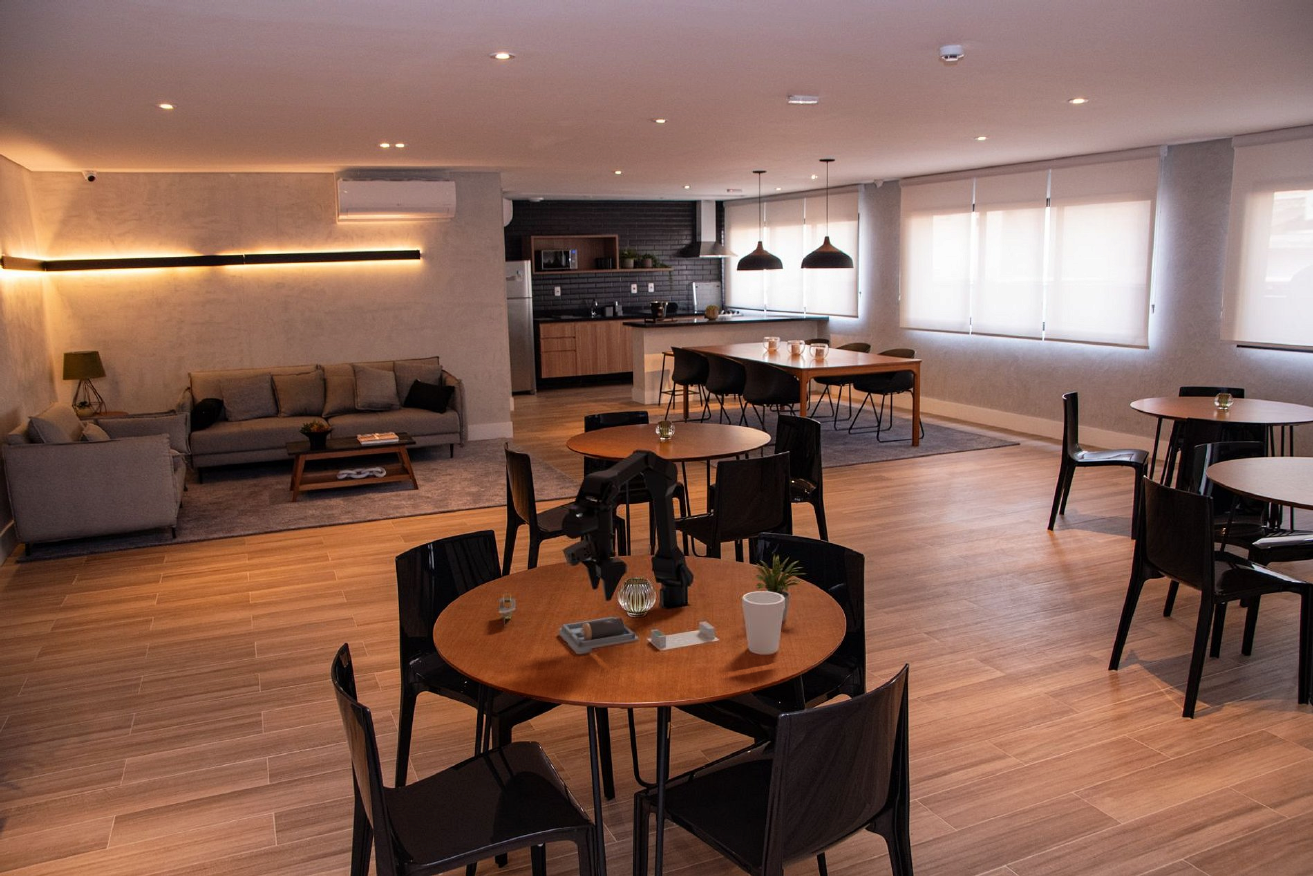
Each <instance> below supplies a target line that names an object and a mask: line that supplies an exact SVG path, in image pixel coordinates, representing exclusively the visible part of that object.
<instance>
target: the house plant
mask: <svg viewBox="0 0 1313 876" xmlns="http://www.w3.org/2000/svg"><path fill="white" fill-rule="evenodd" d="M789 558H790V556H788V557H787V558H786V559H785V560H784V561H783V562H782V563H781V562H780V555H777V556H776V554H775V553H774V554H773V557H772V570H771V569H770V567H769V565H768V564H767V563H766V562H764V561H763V560H761V559H759V562H761V564H762V566H761V565H760V564H759V563H756V565H758V566H756V565H754V568H756V569H757V570H758V571H759V573H760V574H755V575H754V577H755V578H757V579H759V580H761V581H762V582H763V583H764V584H763V583H762V582H758V583H757V584H756V586H755V587H756V590H758V589H762V588H766V591H769V592H775V593H778V594H781V595H783V596H784V598H785V609H784V611H783V618H782V622H783V621H785V620H786V619H787V615H788V614H787V613H788V609H789V608H788V606H789V602H790V598H791V597H790V596H791V594H790V593H789V592H788V590H789V587H790V586H800V584H801V583H802V580H801V579H793V577H796V576H798V575H799V576H800V575H807V573H806V572H805V573H803V572H799V570H795V569H802V568H804V566H803V567H801V566H798V567H793V566H794V565H795V564H797V563H798V562H799V560H797V561H793V562H792V563H791V564H789V566H787V567H786V569H784V571H783V568H784V567H785V565H786V563H787V561H788V560H789ZM762 567H763V568H762ZM782 571H783V572H782ZM792 572H794V573H792ZM790 578H792V579H790ZM789 579H790V580H789ZM798 582H799V583H800V584H799V583H798Z"/></svg>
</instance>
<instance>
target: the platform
mask: <svg viewBox="0 0 1313 876" xmlns="http://www.w3.org/2000/svg"><path fill="white" fill-rule="evenodd" d="M506 603H509V604H510V606H509V607H508V606H506ZM498 605H499V606H498V613H499V614H502V615H503V628H504V627H505V628H506V619H510V620H511V619H512V618H513V617H512V615H513V614H512V611H515V610H516V599H515V598H512V594H511V593H508V594H507V593H506V594H503V597H502V598H501V597H500V598H499V604H498Z"/></svg>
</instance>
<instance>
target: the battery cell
mask: <svg viewBox="0 0 1313 876" xmlns="http://www.w3.org/2000/svg"><path fill="white" fill-rule="evenodd" d="M624 624H625V623H624V620H623V619H622V617H617V618H615V619H609V620H603V621H596V622H590V623H583V625H582V629H581V630H580V632H581V636H583V637H584V640H585V641H587V640H593V639H599V638H605V637H611V636H618V635H623V634H624Z"/></svg>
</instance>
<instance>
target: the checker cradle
mask: <svg viewBox="0 0 1313 876" xmlns="http://www.w3.org/2000/svg"><path fill="white" fill-rule="evenodd" d="M698 623H699V624H698V626H699V628H698V629H697V630H693V631H684V632H679V633H673V634H668V635H665V634H664V633H662V631H660V630H659V629H658V628H656V629H652V630H650V638H646V640H647V641H648V642H650V644H652V645H653V646H654V647H655V648H657V649H658V650H659V652H660V651H666V650H673V649H678V648H684V647H689V646H695V645H701V644H706V643H712V642H717V641H718V642H719V641H720V639H719V638H717V637H716V628H715V627H714V626H712V625H711V624H710V623H708V622H707V621H700V622H698Z"/></svg>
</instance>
